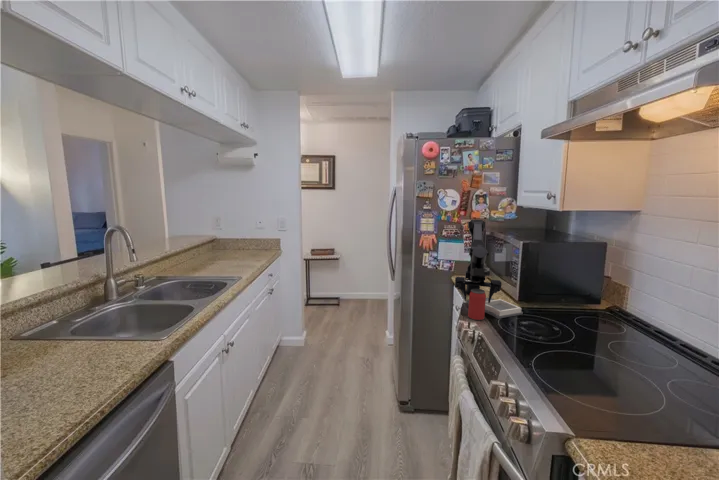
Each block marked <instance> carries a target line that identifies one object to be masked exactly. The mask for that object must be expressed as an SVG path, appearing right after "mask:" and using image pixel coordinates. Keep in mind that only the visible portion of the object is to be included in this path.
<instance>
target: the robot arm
mask: <svg viewBox="0 0 719 480" xmlns="http://www.w3.org/2000/svg"><path fill="white" fill-rule="evenodd" d="M467 229H468V233H469V235H470V236H471V243H470V247H469V249H468V256H469V257H470V263H469V265H468V266H467V267H466V271H465V272H464V273H465V274H464V276H456V277H455V280H454V287H455V288H456V289H457V290H458V291H459V290H460V292H461V293H462V296H463V299H464V301H465V302H467V295H470V292H471V290H472V289H481V287H484V288H489V292H488V297H487V298H488V303H490V300H491V298H493V296H494V294H496V293H497V292H498V293H499V292H501V290H502V285H503V284H502V281H501V280H500V279H491V280H490V282H489V281H488V282H487V281H486V277H487V276H488V277H490V275H491V269H490V267H485V263H486V259H487V257H488V256H489V251H488V250H487V248H486V244H485V243H484V241H483V232H484V230H485V229H486V221H484V220H482V219H470V220H469V221H468V222H467Z"/></svg>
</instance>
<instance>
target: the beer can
mask: <svg viewBox="0 0 719 480" xmlns="http://www.w3.org/2000/svg"><path fill="white" fill-rule="evenodd" d="M468 295H469V294H468ZM486 298H487V296H486V291H485V290H484V289H481V288H480V289H472V290H471V292H470V295H469V297H468V300H469V304H468V310H467V316H468V318H469V319H471V320H474V321H482V320H484V319H485V314H486V312H485V303H486Z"/></svg>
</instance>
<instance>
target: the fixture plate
mask: <svg viewBox="0 0 719 480" xmlns="http://www.w3.org/2000/svg"><path fill="white" fill-rule="evenodd" d="M488 298H489V297H486V303H485V314H488V315H489V316H491V317H493V318H495V319H498V320H499V319H503V318H508V317H509V318H510V317H515V316H521V315H523V313H524V312H523V311H522V307H520V306H517V305H516V304H514V303H510V302H508V301H506V300H505V299H502V298H499V299H494V298H493V297H491V300H490V303H488ZM465 302H466V303H465V304H468V305H469V299H468V300H466V301H465Z"/></svg>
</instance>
